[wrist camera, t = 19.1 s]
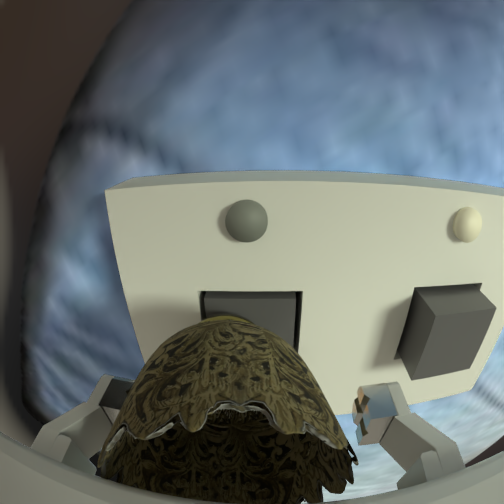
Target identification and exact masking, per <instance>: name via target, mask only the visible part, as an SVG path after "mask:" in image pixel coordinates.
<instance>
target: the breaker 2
mask: <svg viewBox="0 0 504 504" xmlns="http://www.w3.org/2000/svg"><path fill="white" fill-rule="evenodd" d="M495 311H496V306H495V305H494V304H493V303H492V302H491V301H490V300H489V299H488V298H487V297H486V296H485V295H484V294H483V293H482V292H481V291H480V290H479V289H478V288H477V287H476V286H475V285H474V284H473V283H472V284H459V285H444V286H428V287H414V291H413V295H412V299H411V303H410V307H409V311H408V314H407V318H406V321H405V325H404V328H403V332H402V335H401V338H400V341H399V345H398V348H397V351H398V353H399V355H400V357H401V359H402V362H403V364H404V366H405V368H406V370H407V372H408V375H409V377H410V379H411V381H412V380H418V379H424V378H429V377H434V376H439V375H444V374H449V373H453V372H457V371H462V370H466V369H470V367H471V365H472V363H473V361H474V359H475V357H476V355H477V353H478V351H479V349H480V347H481V344H482V342H483V340H484V338H485V335H486V333H487V331H488V328H489V326H490V324H491V321H492V319H493V316H494V314H495Z"/></svg>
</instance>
